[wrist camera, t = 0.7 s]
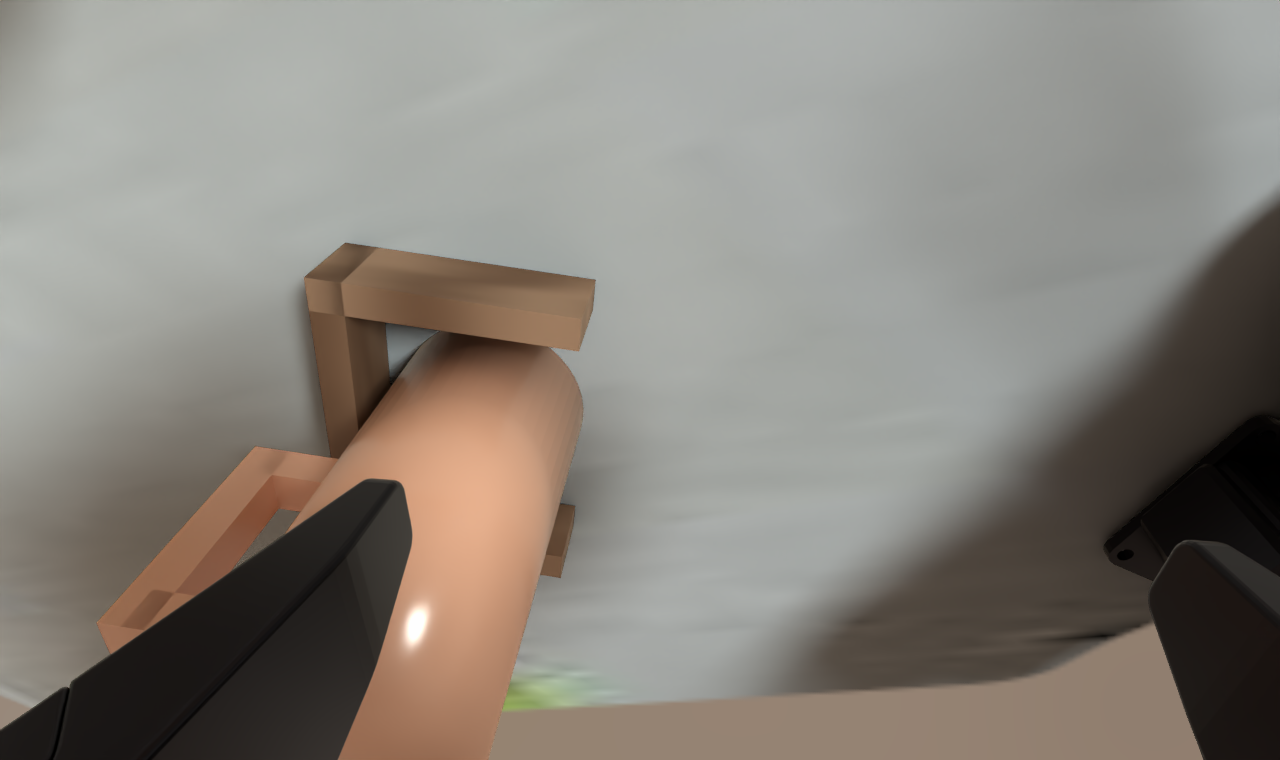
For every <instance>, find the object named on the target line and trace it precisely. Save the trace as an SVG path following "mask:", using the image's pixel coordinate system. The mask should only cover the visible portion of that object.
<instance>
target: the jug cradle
mask: <svg viewBox="0 0 1280 760" xmlns="http://www.w3.org/2000/svg"><path fill="white" fill-rule="evenodd" d="M304 281H305V288H306V295H307V301H308V308H309V315H310V321H311V328H312V335H313V341H314V348H315V354H316V361H317V368H318V374H319V381H320V388H321V394H322V401H323V408H324V414H325V421H326V428H327V434H328V441H329V447H330V454H331V458H335V459H339V458H340V456H341V455H342V454H343V452H344V451H345V449H346V448H347V447H348V445H349V444H350V443H351V441H352V440H353V438H354V437H355V436H356V434H357V433H358V431H359V430H360V429H361V427H362V426H363V424H364V423H365V422H366V420H367V419H368V418H369V416H370V415H371V413H372V412H373V411H374V409H375V408H376V406H377V405H378V404H379V402H380V401H381V400H382V398H383V397H384V395H385V394H386V393H387V391H388V390H389V388H390V387H391V386H390V375H389V363H388V352H387V340H386V329H385V322H387V323H394V324H400V325H407V326H414V327H420V328H427V329H434V330H440V331H447V332H454V333H460V334H467V335H474V336H480V337H487V338H494V339H500V340H507V341H513V342H520V343H527V344H533V345H540V346H547V347H553V348H560V349H567V350H573V351H579V349H580V346H581V344H582V341H583V338H584V335H585V332H586V329H587V326H588V323H589V320H590V317H591V314H592V311H593V302H594V291H595V280H593V279H586V278H579V277H572V276H566V275H559V274H552V273H545V272H539V271H532V270H525V269H518V268H512V267H505V266H498V265H491V264H485V263H478V262H471V261H464V260H458V259H451V258H444V257H437V256H431V255H424V254H417V253H410V252H404V251H397V250H390V249H383V248H377V247H370V246H363V245H356V244H350V243H345V244H343V245H342V246H341V247H340V248H339V249H337V250H336V251H335V252H334V253H333V254H331V255H330V256H329V257H328V258H327V259H325V260H324V261H323V262H322V263H321V264H320V265H318V266H317V267H316V268H315V269H314V270H312V271H311V272H310V273H309V274H308V275H306V276H305V277H304ZM574 513H575V506H571V505H565V504H560V505H559V508H558V512H557V516H556V519H555V523H554V526H553V530H552V533H551V537H550V541H549V544H548V548H547V551H546V555H545V558H544V562H543V566H542V569H541V573H540V575H546V576H552V577H558V578H561V574H562V570H563V566H564V562H565V558H566V553H567V549H568V545H569V541H570V537H571V533H572V529H573V524H574Z"/></svg>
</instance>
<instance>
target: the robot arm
mask: <svg viewBox="0 0 1280 760" xmlns="http://www.w3.org/2000/svg"><path fill="white" fill-rule="evenodd" d="M1264 431H1266V432H1265V433H1263V434H1262V435H1260V436H1258V435H1259V434H1260V433H1262V432H1264ZM412 537H413V533H412V525H411V520H410V515H409V510H408V505H407V500H406V495H405V490H404V487H403V485H402V484H401V483H400V482H399V481H396V480H388V479H374V478H370V479H365V480H363V481H361V482H360V483H358V484H357V485H355V486H354V487H352V488H351V489H349V490H348V491H347V492H345V493H344V494H342V495H341V496H339V497H338V498H336V499H335V500H333V501H332V502H331V503H329V504H328V505H326V506H325V507H323V508H322V509H320V510H319V511H318V512H316V513H315V514H313V515H312V516H310V517H309V518H307V519H306V520H304V521H303V522H302V523H300V524H299V525H297V526H296V527H294V528H293V529H291V530H290V531H289V532H287V533H286V534H284V535H283V536H281V537H280V538H278V539H277V540H276V541H274V542H273V543H271V544H270V545H268V546H267V547H265V548H264V549H262V550H261V551H260V552H258V553H257V554H255V555H254V556H252V557H251V558H249V559H248V560H247V561H245V562H244V563H242V564H241V565H239V566H238V567H236V568H235V569H233V570H232V571H231V572H229V573H228V574H226V575H225V576H223V577H222V578H220V579H219V580H218V581H216V582H215V583H213V584H212V585H210V586H209V587H207V588H206V589H205V590H203V591H202V592H200V593H199V594H197V595H196V596H194V597H193V598H191V599H190V600H189V601H187V602H186V603H184V604H183V605H181V606H180V607H178V608H177V609H176V610H174V611H173V612H171V613H170V614H168V615H167V616H165V617H164V618H162V619H161V620H160V621H158V622H157V623H155V624H154V625H152V626H151V627H149V628H148V629H147V630H145V631H144V632H142V633H141V634H139V635H138V636H136V637H135V638H134V639H132V640H131V641H129V642H128V643H126V644H125V645H123V646H122V647H120V648H119V649H118V650H116V651H115V652H113V653H112V654H110V655H109V656H107V657H106V658H105V659H103V660H102V661H100V662H99V663H97V664H96V665H94V666H93V667H91V668H90V669H89V670H87V671H86V672H84V673H83V674H81V675H80V676H78V677H77V678H76V679H74V680H73V681H72V682H71V684H70V688H68V687H63V688H61V689H59V690H58V691H56V692H55V693H53V694H52V695H50V696H49V697H48V698H46V699H45V700H43V701H42V702H40V703H39V704H37V705H36V706H35V707H33V708H32V709H30V710H29V711H27V712H26V713H24V714H23V715H21V716H20V717H19V718H17V719H15V720H14V721H12V722H11V723H9V724H8V725H6V726H5V727H3V728H2V729H1V730H0V760H338V758H339V756H340V754H341V751H342V749H343V746H344V744H345V742H346V739H347V737H348V734H349V732H350V730H351V727H352V725H353V722H354V720H355V718H356V715H357V713H358V710H359V708H360V706H361V703H362V701H363V698H364V696H365V694H366V691H367V689H368V686H369V684H370V681H371V679H372V676H373V674H374V671H375V668H376V666H377V662H378V659H379V656H380V653H381V650H382V647H383V643H384V640H385V636H386V633H387V630H388V626H389V623H390V619H391V616H392V612H393V609H394V605H395V602H396V599H397V595H398V592H399V588H400V585H401V581H402V578H403V575H404V571H405V568H406V564H407V561H408V557H409V554H410V550H411V546H412ZM1122 550H1123V551H1122ZM1104 552H1105V554H1106V555H1107V557H1108V559H1109V560H1110V562H1112V563H1113V564H1115V565H1117V566H1119V567H1122V568H1124V569H1126V570H1129V571H1131V572H1133V573H1136V574H1138V575H1140V576H1143V577H1145V578H1147V579H1150V580H1152V581H1153V583H1152V585H1151V587H1150V590H1149V595H1148V602H1149V608H1150V612H1151V615H1152V618H1153V620H1154V623H1155V626H1156V629H1157V632H1158V635H1159V638H1160V641H1161V643H1162V646H1163V649H1164V652H1165V655H1166V658H1167V660H1168V663H1169V666H1170V669H1171V672H1172V674H1173V678H1174V681H1175V683H1176V686H1177V689H1178V692H1179V695H1180V698H1181V700H1182V703H1183V706H1184V709H1185V712H1186V715H1187V718H1188V720H1189V723H1190V725H1191V728H1192V730H1193V733H1194V736H1195V739H1196V741H1197V743H1198V746H1199V749H1200V751H1201V754H1202V757H1203V760H1280V421H1279V420H1276V419H1274V418H1272V417H1269V416H1258V417H1255V418H1252V419H1250V420H1248V421H1247V422H1245V423H1244V424H1243V425H1242V426H1240V427H1239V428H1238V429H1237V430H1236V431H1235V432H1234V433H1232V434H1231V435H1230V436H1229V437H1228V438H1227V439H1225V440H1224V441H1223V442H1222V443H1221V444H1220V445H1218V446H1217V447H1216V448H1215V449H1214V450H1213V451H1211V452H1210V453H1209V454H1208V455H1207V456H1206V457H1205V458H1203V459H1202V460H1201V461H1200V462H1199V463H1198V464H1196V465H1195V466H1194V467H1193V468H1192V469H1191V470H1189V471H1188V472H1187V473H1186V474H1185V475H1184V476H1182V477H1181V478H1180V479H1179V480H1178V481H1177V482H1175V483H1174V484H1173V485H1172V486H1171V487H1170V488H1169V489H1167V490H1166V491H1165V492H1164V493H1163V494H1162V495H1160V496H1159V497H1158V498H1157V499H1156V500H1155V501H1153V502H1152V503H1151V504H1150V505H1149V506H1148V507H1146V508H1145V509H1144V510H1143V511H1142V512H1141V513H1140V514H1138V515H1137V516H1136V517H1135V518H1134V519H1133V520H1131V521H1130V522H1129V523H1128V524H1127V525H1126V526H1124V527H1123V528H1122V529H1121V530H1120V531H1119V532H1117V533H1116V534H1115V535H1114V536H1113V537H1112V538H1111V539H1109V540H1108V541H1107V542H1106V544H1105V545H1104Z"/></svg>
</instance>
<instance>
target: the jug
mask: <svg viewBox="0 0 1280 760" xmlns="http://www.w3.org/2000/svg"><path fill="white" fill-rule="evenodd" d="M582 421H583V401H582V396H581V392H580V389H579V386H578V384H577V382H576V380H575V377H574V376H573V374H572V373H571V371H570V369H569V368H568V366H567V365H566V364H565V363H564V362H563V360H562V359H561V358H560V357H559V356H558V355H557V354H556V353H555V352H554V351H553V350H551V349H550V348H549V347H547V346H540V345H533V344H527V343H520V342H513V341H507V340H500V339H494V338H487V337H480V336H474V335H467V334H460V333H454V332H447V331H440V332H438V333H436V334H435V335H433V336H432V337H430V338H429V339H428V340H427V341H425V342H424V343H423V344H422V345H421V346H420V347H419V349H418V350H417V351H416V352H415V354H414V355H413V357H412V358H411V359H410V361H409V362H408V363H407V365H406V366H405V368H404V369H403V370H402V372H401V373H400V375H399V376H398V377H397V379H396V380H395V381H394V383H393V384H392V386H391V387H390V388H389V390H388V391H387V393H386V394H385V395H384V397H383V398H382V400H381V401H380V402H379V404H378V405H377V406H376V408H375V409H374V411H373V412H372V413H371V415H370V416H369V418H368V419H367V420H366V422H365V423H364V424H363V426H362V427H361V429H360V430H359V431H358V433H357V434H356V436H355V437H354V438H353V440H352V441H351V443H350V444H349V445H348V447H347V448H346V449H345V451H344V452H343V454H342V455H341V456H340V458H339V459H335V458H329V457H322V456H316V455H309V454H303V453H296V452H290V451H283V450H277V449H270V448H264V447H257V446H255V447H254V448H253V449H252V450H251V452H250V453H249V454H248V455H247V456H246V457H245V458H244V459H243V460H242V462H241V463H240V464H239V465H238V466H237V467H236V468H235V469H234V470H233V472H232V473H231V474H230V475H229V476H228V477H227V478H226V479H225V481H224V482H223V483H222V484H221V485H220V486H219V487H218V488H217V489H216V491H215V492H214V493H213V494H212V495H211V496H210V497H209V498H208V499H207V501H206V502H205V503H204V504H203V505H202V506H201V507H200V508H199V509H198V511H197V512H196V513H195V514H194V515H193V516H192V517H191V518H190V519H189V521H188V522H187V523H186V524H185V525H184V526H183V527H182V528H181V529H180V531H179V532H178V533H177V534H176V535H175V536H174V537H173V538H172V539H171V541H170V542H169V543H168V544H167V545H166V546H165V547H164V548H163V549H162V551H161V552H160V553H159V554H158V555H157V556H156V557H155V558H154V559H153V561H152V562H151V563H150V564H149V565H148V566H147V567H146V568H145V569H144V571H143V572H142V573H141V574H140V575H139V576H138V577H137V578H136V579H135V581H134V582H133V583H132V584H131V585H130V586H129V587H128V588H127V589H126V591H125V592H124V593H123V594H122V595H121V596H120V597H119V598H118V599H117V601H116V602H115V603H114V604H113V605H112V606H111V607H110V608H109V609H108V611H107V612H106V613H105V614H104V615H103V616H102V617H101V618H100V619H99V621H98V622H97V625H98V628H99V630H100V632H101V634H102V637H103V639H104V641H105V643H106V646H107V648H108V650H109V652H110V654H112V653H113V652H115V651H116V650H118V649H119V648H120V647H122V646H123V645H125V644H126V643H128V642H129V641H131V640H132V639H134V638H135V637H136V636H138V635H139V634H141V633H142V632H144V631H145V630H147V629H148V628H149V627H151V626H152V625H154V624H155V623H157V622H158V621H160V620H161V619H162V618H164V617H165V616H167V615H168V614H170V613H171V612H173V611H174V610H176V609H177V608H178V607H180V606H181V605H183V604H184V603H186V602H187V601H189V600H190V599H191V598H193V597H194V596H196V595H197V594H199V593H200V592H202V591H203V590H205V589H206V588H207V587H209V586H210V585H212V584H213V583H215V582H216V581H218V580H219V579H220V578H222V577H223V576H225V575H226V574H228V573H229V572H231V570H232V569H233V568H234V566H235V565H236V564H237V562H238V561H239V560H240V558H241V557H242V556H243V554H244V553H245V552H246V551H247V549H248V548H249V547H250V545H251V544H252V543H253V541H254V540H255V539H256V537H257V536H258V535H259V533H260V532H261V531H262V530H263V528H264V527H265V526H266V524H267V523H268V522H269V520H270V519H271V518H272V516H273V515H274V514H275V513H276V511H277V510H278V509H279V508H280V509H286V510H293V511H299V512H300V513H299V515H298V516H297V517H296V519H295V520H294V522H293V523H292V524H291V526H290V527H289V529H288V530H287V531H286V533H287V532H289V531H290V530H291V529H293V528H294V527H296V526H297V525H299V524H300V523H302V522H303V521H304V520H306V519H307V518H309V517H310V516H312V515H313V514H315V513H316V512H318V511H319V510H320V509H322V508H323V507H325V506H326V505H328V504H329V503H331V502H332V501H333V500H335V499H336V498H338V497H339V496H341V495H342V494H344V493H345V492H347V491H348V490H349V489H351V488H352V487H354V486H355V485H357V484H358V483H360V482H361V481H363V480H365V479H370V478H374V479H388V480H396V481H399V482H400V483H401V484H402V485H403V487H404V490H405V495H406V500H407V505H408V510H409V515H410V520H411V525H412V533H413V537H412V546H411V550H410V554H409V557H408V561H407V564H406V568H405V571H404V575H403V578H402V581H401V585H400V588H399V592H398V595H397V599H396V602H395V605H394V609H393V612H392V616H391V619H390V623H389V626H388V630H387V633H386V636H385V640H384V643H383V647H382V650H381V653H380V656H379V659H378V662H377V666H376V668H375V671H374V674H373V676H372V679H371V681H370V684H369V686H368V689H367V691H366V694H365V696H364V698H363V701H362V703H361V706H360V708H359V710H358V713H357V715H356V718H355V720H354V722H353V725H352V727H351V730H350V732H349V734H348V737H347V739H346V742H345V744H344V746H343V749H342V751H341V754H340V756H339V758H338V760H488V758H489V755H490V751H491V748H492V744H493V741H494V737H495V733H496V729H497V726H498V722H499V719H500V716H501V712H502V708H503V705H504V701H505V698H506V694H507V691H508V687H509V683H510V680H511V676H512V673H513V669H514V666H515V662H516V658H517V655H518V651H519V648H520V644H521V641H522V637H523V633H524V630H525V626H526V623H527V619H528V616H529V612H530V608H531V605H532V601H533V598H534V594H535V591H536V587H537V583H538V580H539V576H540V573H541V569H542V566H543V562H544V558H545V555H546V551H547V548H548V544H549V541H550V537H551V533H552V530H553V526H554V523H555V519H556V516H557V512H558V508H559V505H560V501H561V498H562V494H563V491H564V487H565V483H566V480H567V476H568V473H569V469H570V466H571V462H572V458H573V455H574V451H575V448H576V444H577V441H578V437H579V433H580V430H581V426H582ZM286 533H285V534H286Z"/></svg>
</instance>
